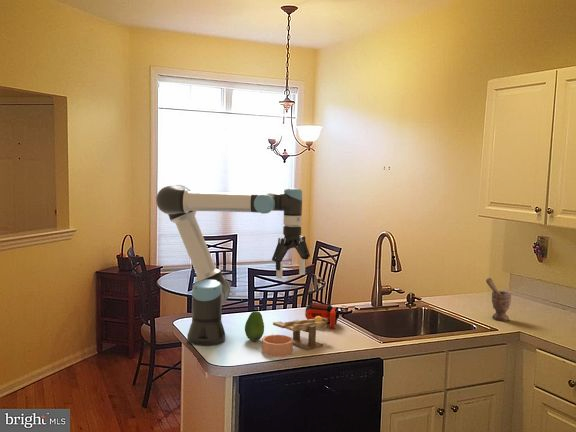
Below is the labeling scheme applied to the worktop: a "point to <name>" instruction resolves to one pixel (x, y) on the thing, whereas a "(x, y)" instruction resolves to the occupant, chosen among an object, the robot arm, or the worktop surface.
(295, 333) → the stand
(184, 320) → the worktop surface
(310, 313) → the power drill
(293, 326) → the lever
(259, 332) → the fruit
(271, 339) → the terracotta bowl
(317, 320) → the ball
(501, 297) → the mortar and pestle
